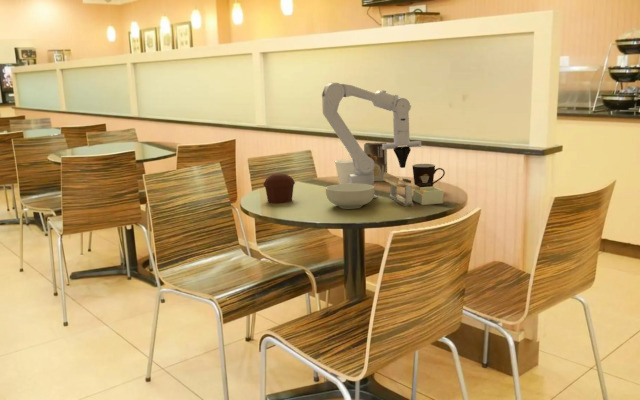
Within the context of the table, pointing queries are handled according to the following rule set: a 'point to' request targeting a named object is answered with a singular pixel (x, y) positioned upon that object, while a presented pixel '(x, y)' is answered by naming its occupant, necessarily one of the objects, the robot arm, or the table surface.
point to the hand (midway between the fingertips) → (402, 167)
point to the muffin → (279, 188)
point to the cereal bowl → (350, 195)
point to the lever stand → (404, 201)
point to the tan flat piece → (398, 181)
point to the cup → (344, 169)
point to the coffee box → (377, 159)
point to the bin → (428, 195)
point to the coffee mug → (425, 174)
